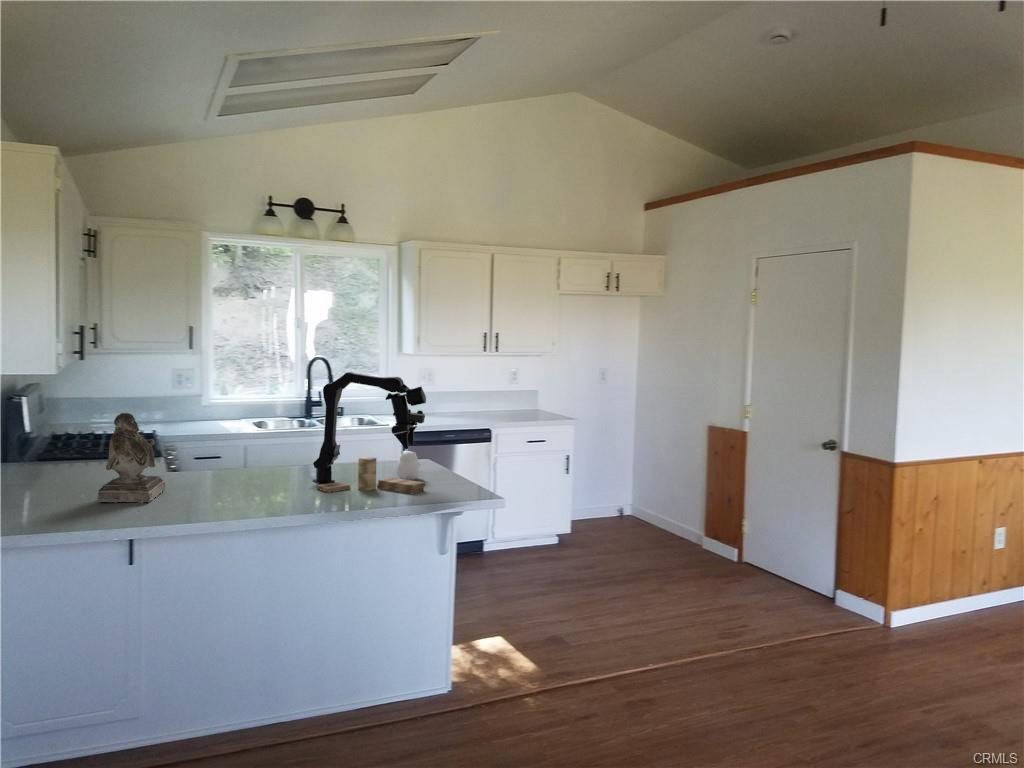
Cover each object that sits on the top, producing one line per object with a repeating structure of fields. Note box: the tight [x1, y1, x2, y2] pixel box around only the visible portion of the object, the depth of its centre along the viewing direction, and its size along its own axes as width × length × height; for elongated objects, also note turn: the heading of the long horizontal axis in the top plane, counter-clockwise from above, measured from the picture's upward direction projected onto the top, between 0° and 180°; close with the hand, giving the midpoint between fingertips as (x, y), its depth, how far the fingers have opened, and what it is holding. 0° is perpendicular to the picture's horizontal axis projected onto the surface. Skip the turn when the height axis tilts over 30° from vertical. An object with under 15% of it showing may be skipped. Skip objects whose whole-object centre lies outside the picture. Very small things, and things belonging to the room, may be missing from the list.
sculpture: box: [97, 412, 166, 503], centre depth 262 cm, size 19×17×30 cm
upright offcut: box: [357, 456, 377, 491], centre depth 287 cm, size 5×4×12 cm
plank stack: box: [376, 476, 426, 494], centre depth 287 cm, size 17×7×3 cm, turn 62°
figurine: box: [396, 450, 422, 481], centre depth 305 cm, size 10×10×12 cm
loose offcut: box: [316, 481, 351, 493], centre depth 285 cm, size 7×10×2 cm
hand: (409, 447), depth 293 cm, fingers open, 9 cm apart
